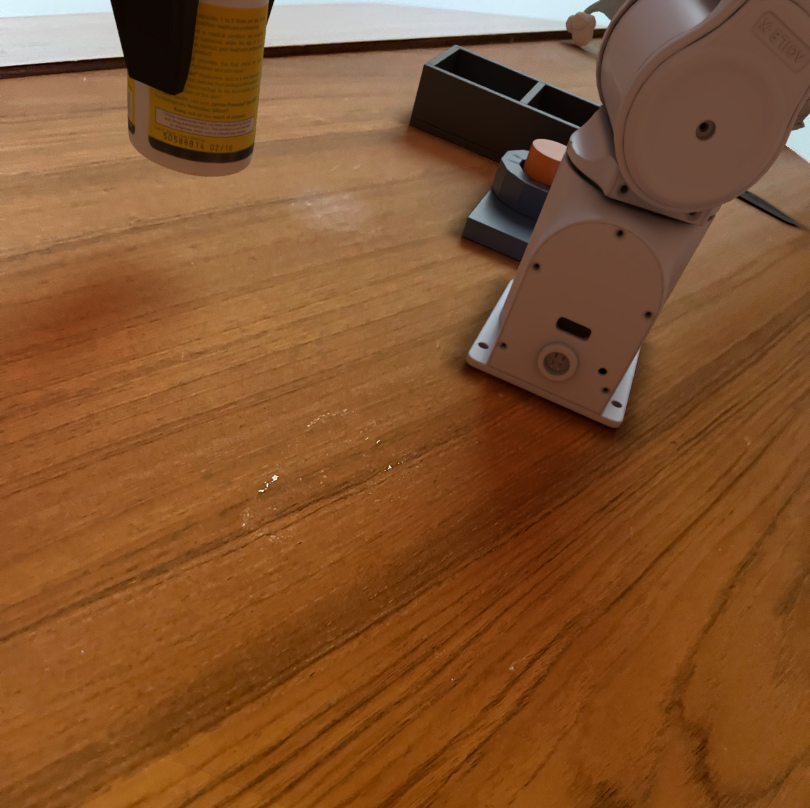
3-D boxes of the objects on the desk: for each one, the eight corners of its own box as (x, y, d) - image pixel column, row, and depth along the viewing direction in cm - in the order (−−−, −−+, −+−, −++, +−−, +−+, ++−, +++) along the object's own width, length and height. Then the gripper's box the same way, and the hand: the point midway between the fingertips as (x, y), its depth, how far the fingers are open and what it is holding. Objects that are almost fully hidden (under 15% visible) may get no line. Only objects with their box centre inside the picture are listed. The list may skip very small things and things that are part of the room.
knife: (798, 230, 62) (801, 219, 64) (802, 225, 62) (804, 213, 64) (629, 151, 64) (637, 142, 66) (632, 145, 64) (639, 137, 66)
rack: (594, 203, 54) (620, 146, 51) (408, 124, 55) (423, 64, 52) (609, 171, 59) (633, 118, 57) (440, 99, 60) (455, 44, 57)
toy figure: (659, 107, 93) (550, 54, 91) (704, 14, 89) (591, -44, 88) (701, 80, 77) (571, 16, 76) (758, -34, 73) (622, -104, 72)
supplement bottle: (276, 172, 35) (310, -94, 28) (177, 189, 31) (187, -110, 24) (203, 120, 36) (218, -143, 29) (102, 130, 33) (91, -165, 26)
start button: (564, 197, 46) (576, 168, 45) (517, 176, 46) (527, 147, 45) (573, 181, 48) (585, 153, 47) (528, 161, 49) (538, 133, 47)
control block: (583, 288, 45) (606, 241, 42) (460, 235, 45) (476, 186, 43) (607, 232, 51) (627, 188, 49) (499, 186, 52) (515, 141, 49)
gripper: (221, -433, 27) (200, 7, 37) (-103, -601, 17) (-12, 67, 27) (400, -364, 26) (331, 61, 36) (178, -495, 16) (165, 143, 26)
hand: (196, 68), depth 31 cm, fingers closed on supplement bottle, 5 cm apart
